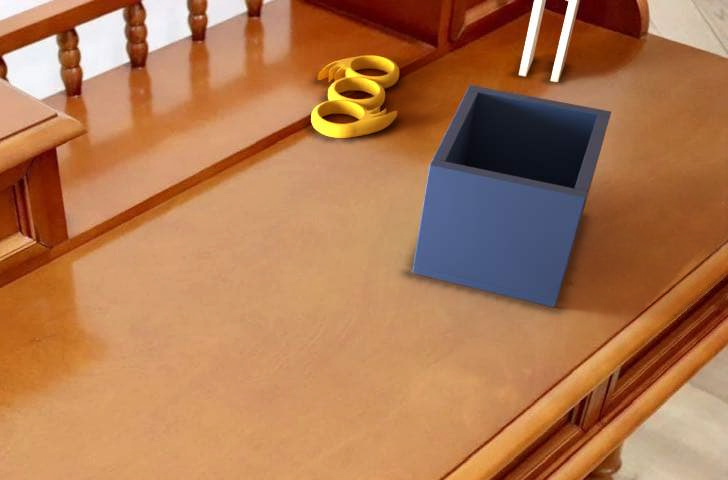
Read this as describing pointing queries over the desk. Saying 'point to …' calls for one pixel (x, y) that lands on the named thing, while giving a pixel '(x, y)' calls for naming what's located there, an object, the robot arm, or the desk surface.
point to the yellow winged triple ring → (358, 108)
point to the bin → (509, 193)
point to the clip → (534, 31)
